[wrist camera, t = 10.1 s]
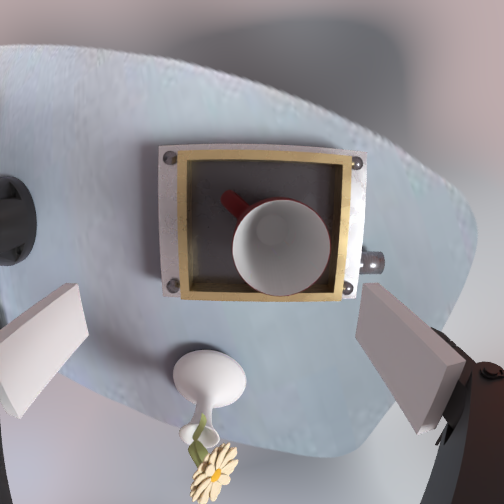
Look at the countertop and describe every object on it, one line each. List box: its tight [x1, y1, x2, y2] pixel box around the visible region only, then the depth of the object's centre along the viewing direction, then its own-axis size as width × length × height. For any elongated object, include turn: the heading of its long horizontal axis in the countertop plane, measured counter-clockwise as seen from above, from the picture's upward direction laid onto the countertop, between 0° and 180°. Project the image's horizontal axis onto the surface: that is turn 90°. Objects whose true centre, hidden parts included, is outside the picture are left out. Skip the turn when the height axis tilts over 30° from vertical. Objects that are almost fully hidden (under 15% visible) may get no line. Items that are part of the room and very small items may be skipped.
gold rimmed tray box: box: [158, 144, 385, 302], centre depth 34 cm, size 28×18×8 cm, turn 89°
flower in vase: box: [173, 350, 246, 504], centre depth 31 cm, size 13×11×25 cm
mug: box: [220, 190, 331, 297], centre depth 28 cm, size 10×8×10 cm
